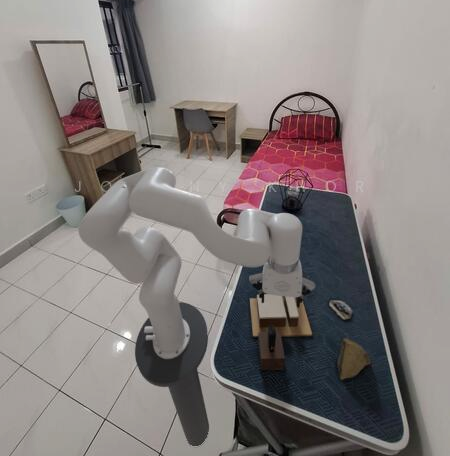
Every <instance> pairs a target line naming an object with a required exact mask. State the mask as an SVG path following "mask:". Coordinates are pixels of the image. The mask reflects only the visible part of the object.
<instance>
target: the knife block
mask: <svg viewBox="0 0 450 456" xmlns="http://www.w3.org/2000/svg"><path fill="white" fill-rule="evenodd" d="M267 335H268V332H259V333H258V337H257V346H258V347H257V348H258V355H259V366H260V371H284V369H285V360H286V356H285V355H286V354H285V351H284V346H283V340H282V337H281V334H280V332H276V343H275V347H273V351H272V352H271V353H270V347H268V340H267Z"/></svg>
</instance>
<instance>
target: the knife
mask: <svg viewBox="0 0 450 456" xmlns="http://www.w3.org/2000/svg"><path fill="white" fill-rule="evenodd" d="M267 340H268V347H270V353H271V352H272V351H273V347H275V343H276V330H275V326H268V335H267Z"/></svg>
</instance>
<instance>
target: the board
mask: <svg viewBox="0 0 450 456" xmlns="http://www.w3.org/2000/svg"><path fill="white" fill-rule="evenodd" d="M284 298H285V296H282V299H283V303H284ZM294 299H295V303H296V297H294ZM296 307H297V305H296ZM284 308H285V307H284ZM249 309H250V319H251V329H252V331H251V332H252V338H258V333H259V332H268V327H259V319H258V310H257V297H251V298H249ZM297 311H298V315H299V319H298V326H297V327H289V325H288V321H287V316H286V325H285V327H275V330H276V332H280V334H281V338H283V337H284V338H285V337H286V338H287V337H288V338H289V337H312V336H313V332H312V329H311V325H310V322H309V318H308V315H307V311H306V308H305V305H304V301H303V300H302V303H300V307H299V308H298V307H297ZM285 313H286V311H285Z"/></svg>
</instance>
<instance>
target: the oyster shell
mask: <svg viewBox="0 0 450 456" xmlns="http://www.w3.org/2000/svg"><path fill="white" fill-rule="evenodd" d="M328 304H329V307H331V309H332V310H333V311H334V312H336V314H337V315H338V317H339V318H340V319H341V320H348V319H349V320H350V319H351V317H352V314H353V313H354V311H353V310H352V308H351V307H350V306H349V305H348V304H347V303H346V302H345V301H342V300H340V299H338V300H334V299H333V300H332V299H331V300H330V301H329V303H328Z"/></svg>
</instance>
